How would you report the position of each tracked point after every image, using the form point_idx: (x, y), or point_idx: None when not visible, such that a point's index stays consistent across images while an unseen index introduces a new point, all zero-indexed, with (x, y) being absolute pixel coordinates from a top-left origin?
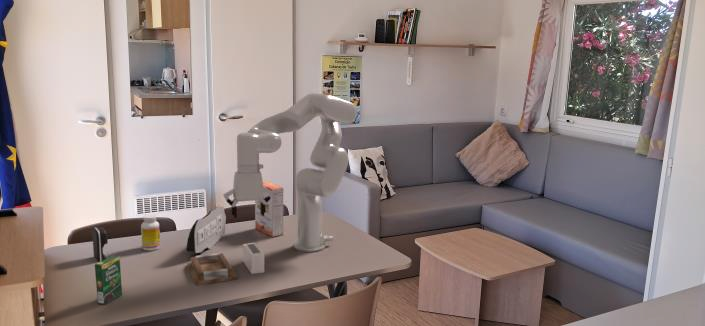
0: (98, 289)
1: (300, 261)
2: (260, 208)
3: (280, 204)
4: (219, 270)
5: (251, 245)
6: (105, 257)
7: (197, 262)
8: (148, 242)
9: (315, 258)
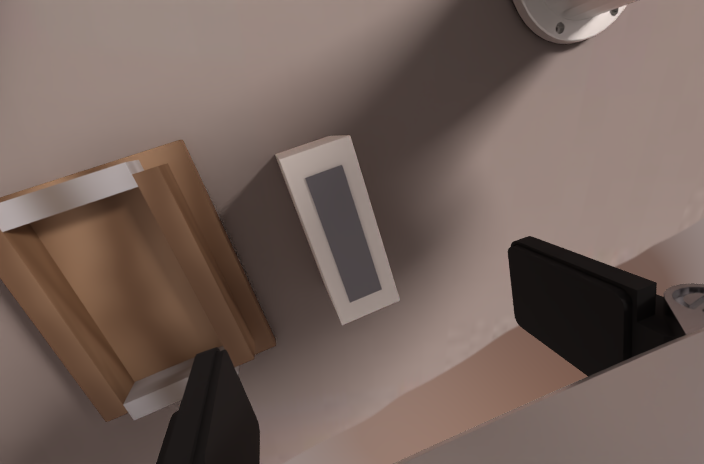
0: None
1: (506, 155)
2: (554, 271)
3: None
4: None
5: (331, 192)
6: None
7: (45, 304)
8: None
9: (562, 123)
